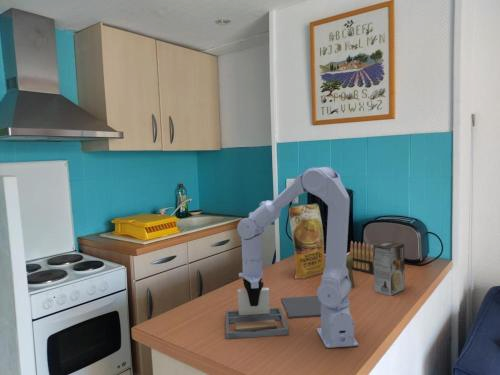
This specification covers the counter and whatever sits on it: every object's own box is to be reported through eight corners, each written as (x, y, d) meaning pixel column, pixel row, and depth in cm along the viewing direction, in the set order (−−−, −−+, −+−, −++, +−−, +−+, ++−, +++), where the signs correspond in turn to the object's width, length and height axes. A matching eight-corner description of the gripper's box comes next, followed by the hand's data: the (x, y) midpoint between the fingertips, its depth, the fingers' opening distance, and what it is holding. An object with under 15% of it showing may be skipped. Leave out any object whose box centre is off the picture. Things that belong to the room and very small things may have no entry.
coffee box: (387, 284, 127) (387, 240, 126) (405, 289, 122) (405, 243, 121) (373, 291, 121) (373, 245, 120) (391, 296, 116) (391, 248, 115)
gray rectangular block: (269, 313, 103) (269, 290, 103) (239, 315, 102) (238, 291, 102) (269, 310, 105) (268, 287, 105) (238, 312, 104) (237, 289, 104)
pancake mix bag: (284, 277, 139) (282, 206, 137) (319, 267, 150) (318, 202, 148) (296, 281, 133) (294, 208, 131) (331, 271, 144) (330, 203, 142)
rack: (288, 334, 93) (288, 329, 93) (226, 339, 92) (225, 333, 92) (280, 312, 107) (280, 307, 107) (225, 315, 106) (225, 311, 106)
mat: (335, 315, 104) (335, 313, 104) (288, 318, 103) (288, 316, 103) (322, 297, 118) (322, 295, 118) (281, 299, 117) (281, 298, 117)
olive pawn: (355, 289, 124) (354, 258, 123) (337, 288, 125) (336, 258, 124) (353, 283, 130) (353, 253, 129) (336, 282, 131) (336, 253, 130)
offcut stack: (279, 334, 94) (279, 325, 94) (235, 338, 93) (234, 329, 93) (277, 327, 98) (276, 319, 98) (234, 331, 97) (233, 322, 97)
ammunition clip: (348, 269, 146) (348, 240, 145) (351, 268, 148) (351, 239, 147) (373, 274, 139) (373, 244, 138) (375, 273, 140) (375, 243, 139)
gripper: (237, 252, 110) (239, 295, 111) (239, 266, 95) (241, 315, 96) (259, 251, 110) (261, 293, 111) (265, 264, 96) (267, 313, 97)
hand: (253, 303), depth 104 cm, fingers closed on gray rectangular block, 2 cm apart
